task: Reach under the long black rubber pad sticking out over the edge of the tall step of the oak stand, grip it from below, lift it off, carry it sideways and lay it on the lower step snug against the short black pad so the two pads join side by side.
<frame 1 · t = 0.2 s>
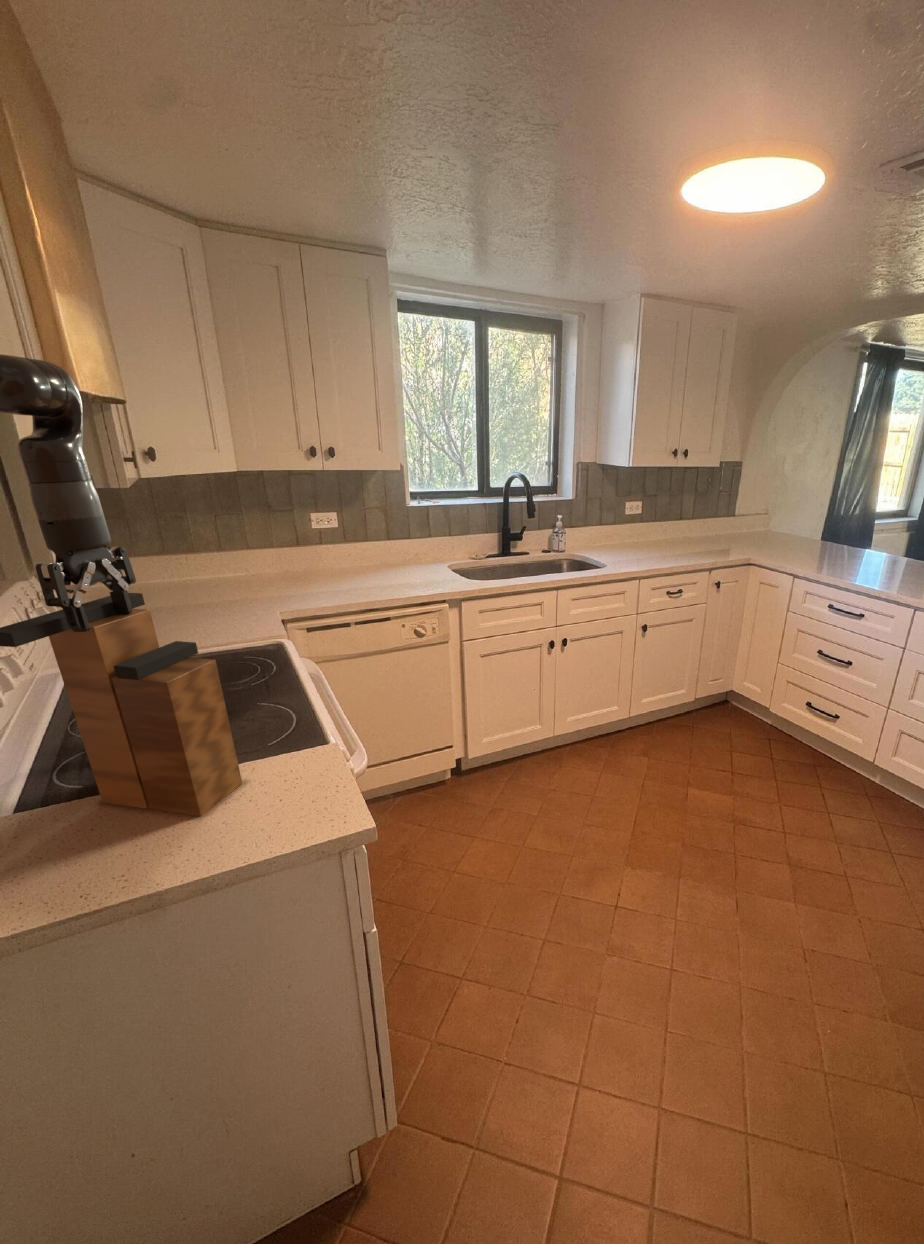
hand: (104, 622, 87), 32 cm above the countertop, tool pointing down, fingers open, 8 cm apart
long pad: (76, 622, 87), point 32 cm above the countertop, touching step stand
short pad: (159, 665, 92), point 24 cm above the countertop, touching step stand
step stand: (173, 792, 100), on the countertop
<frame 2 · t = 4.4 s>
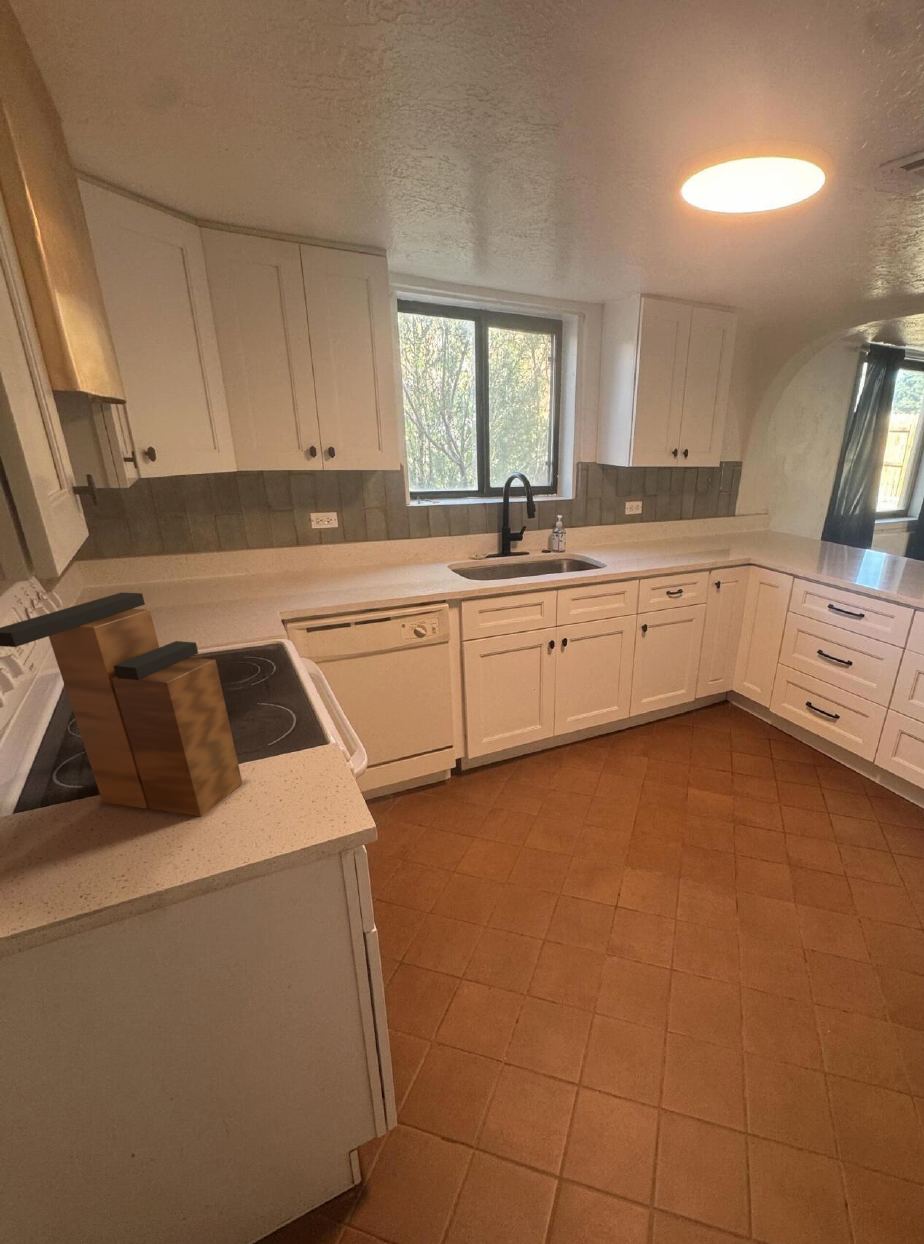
nothing on the countertop moved.
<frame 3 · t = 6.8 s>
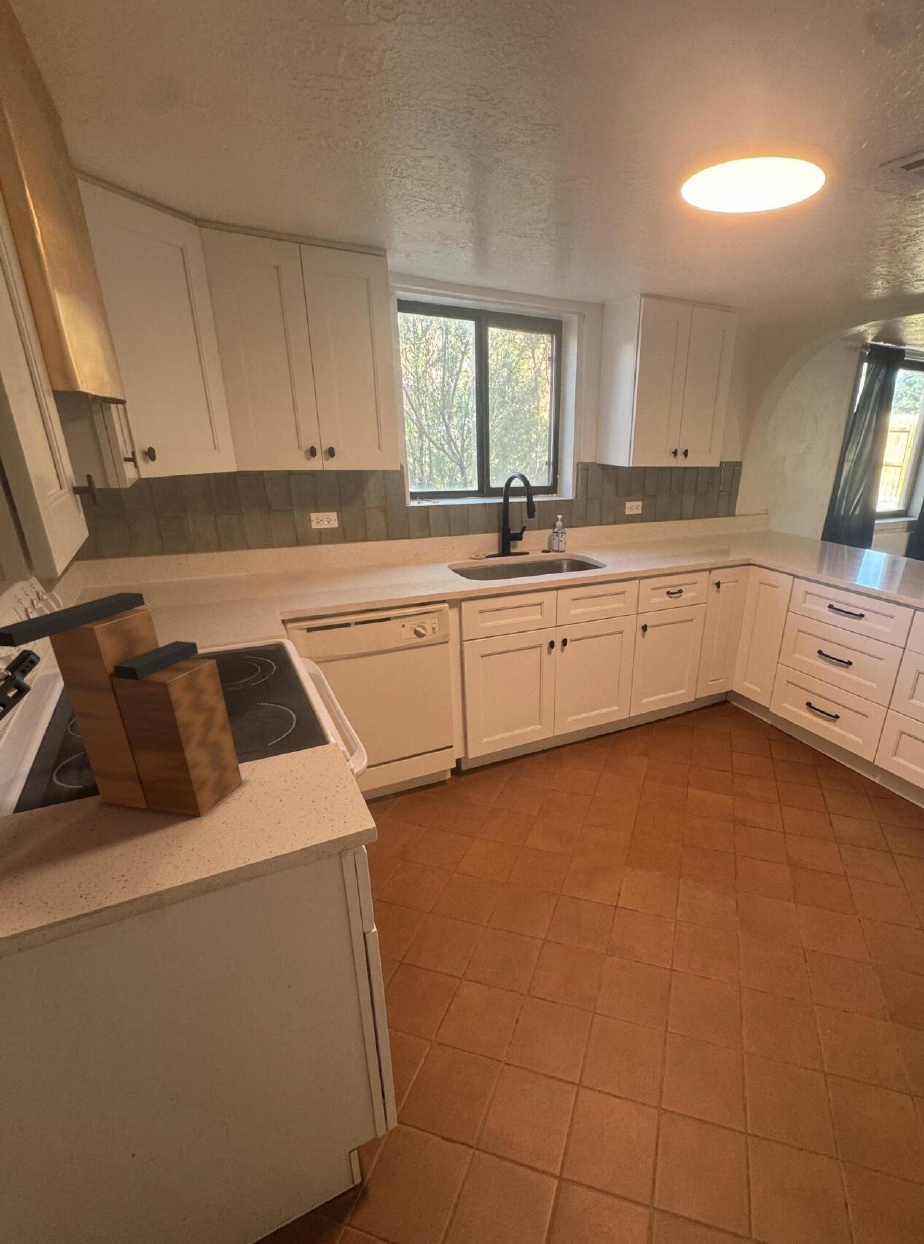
hand: (8, 651, 78), 31 cm above the countertop, tool pointing upward, fingers open, 8 cm apart
nothing on the countertop moved.
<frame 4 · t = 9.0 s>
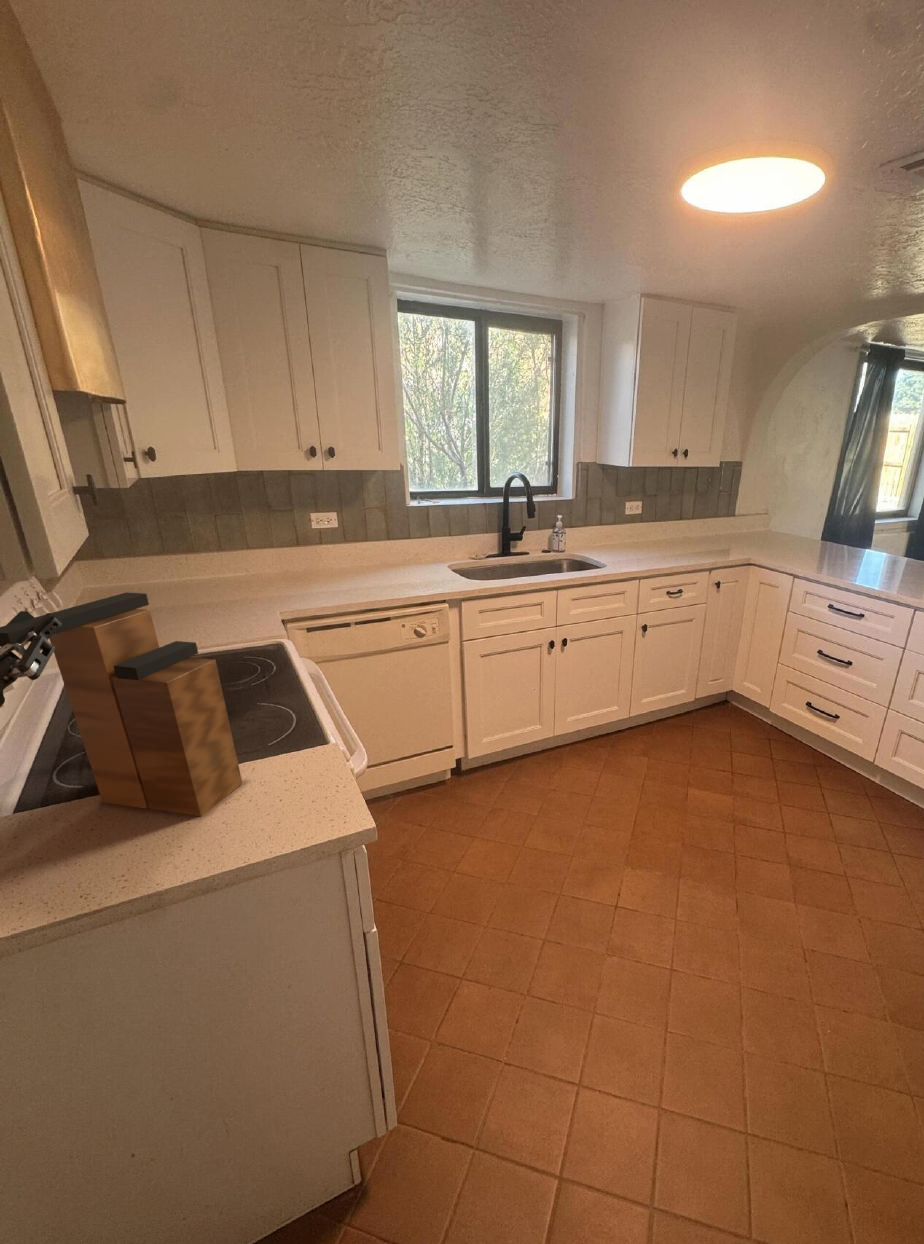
hand: (42, 616, 82), 34 cm above the countertop, tool pointing upward, fingers closed on long pad, 4 cm apart
long pad: (77, 623, 87), point 32 cm above the countertop, touching gripper, step stand
everything else where it was.
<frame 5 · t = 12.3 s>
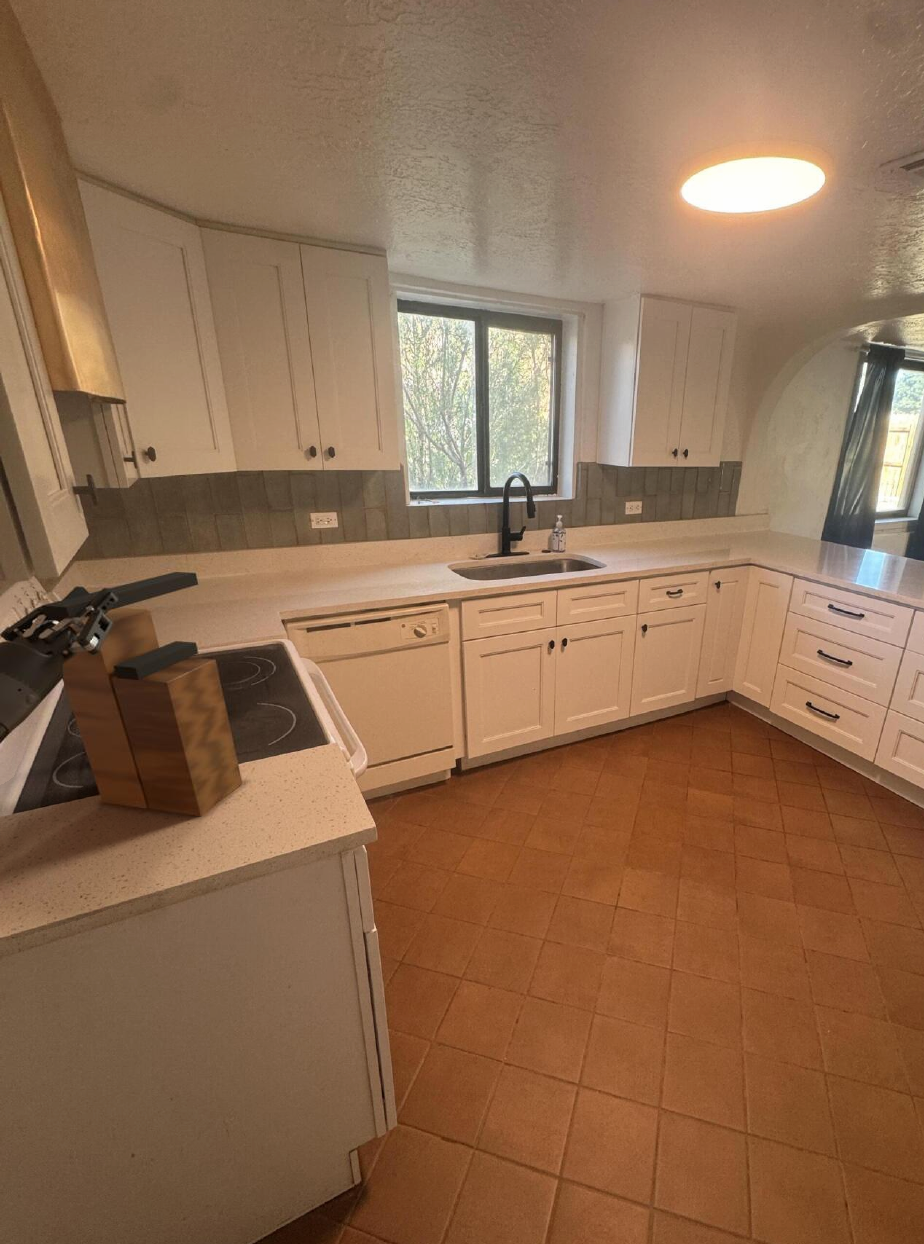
hand: (98, 592, 80), 38 cm above the countertop, tool pointing upward, fingers closed on long pad, 4 cm apart
long pad: (130, 600, 85), point 36 cm above the countertop, touching gripper
everything else where it was.
when the fingers open (26 cm above the countertop, at t = 16.0 s): long pad stays where it is, resting on step stand.
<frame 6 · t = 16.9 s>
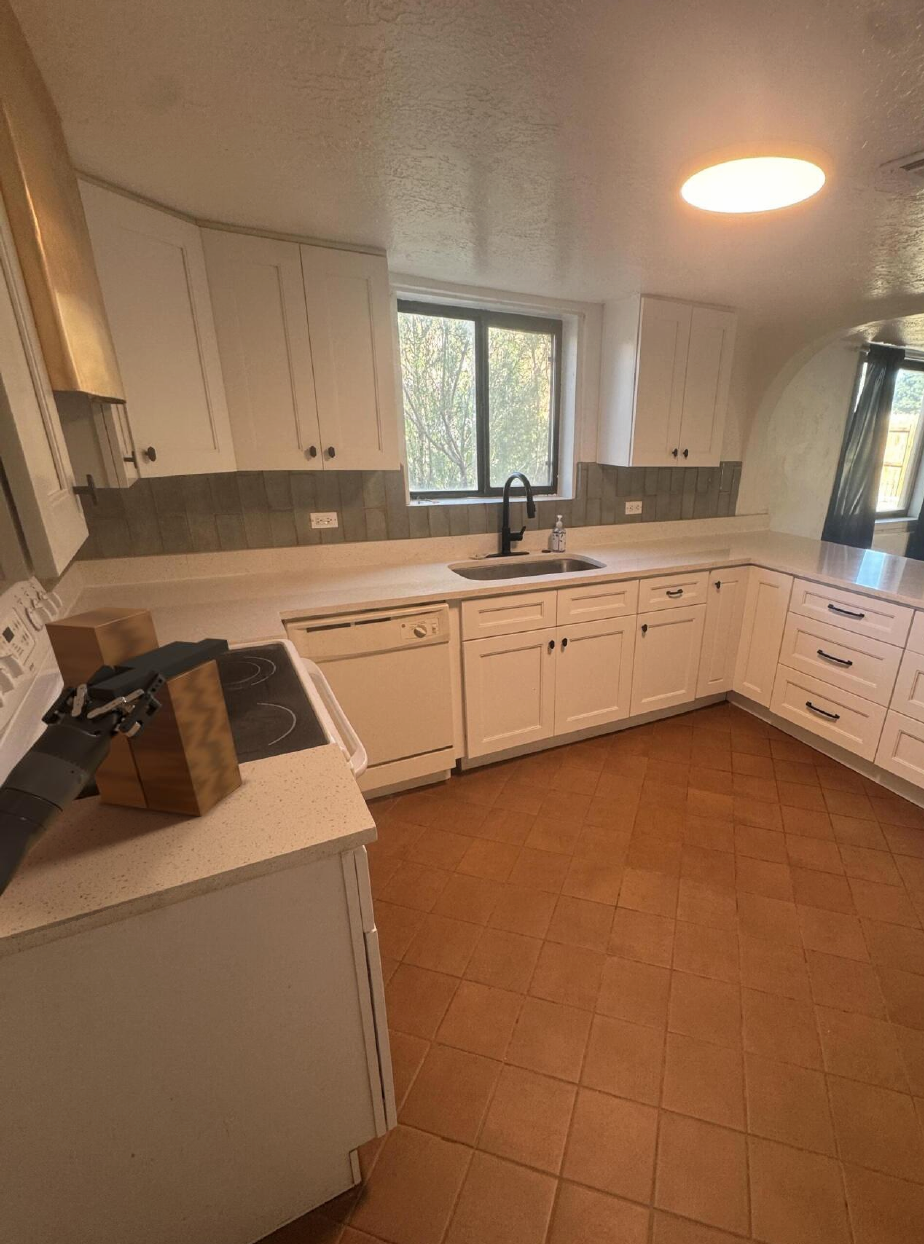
hand: (134, 670, 83), 26 cm above the countertop, tool pointing upward, fingers open, 8 cm apart
long pad: (168, 672, 89), point 24 cm above the countertop, touching step stand
everything else where it was.
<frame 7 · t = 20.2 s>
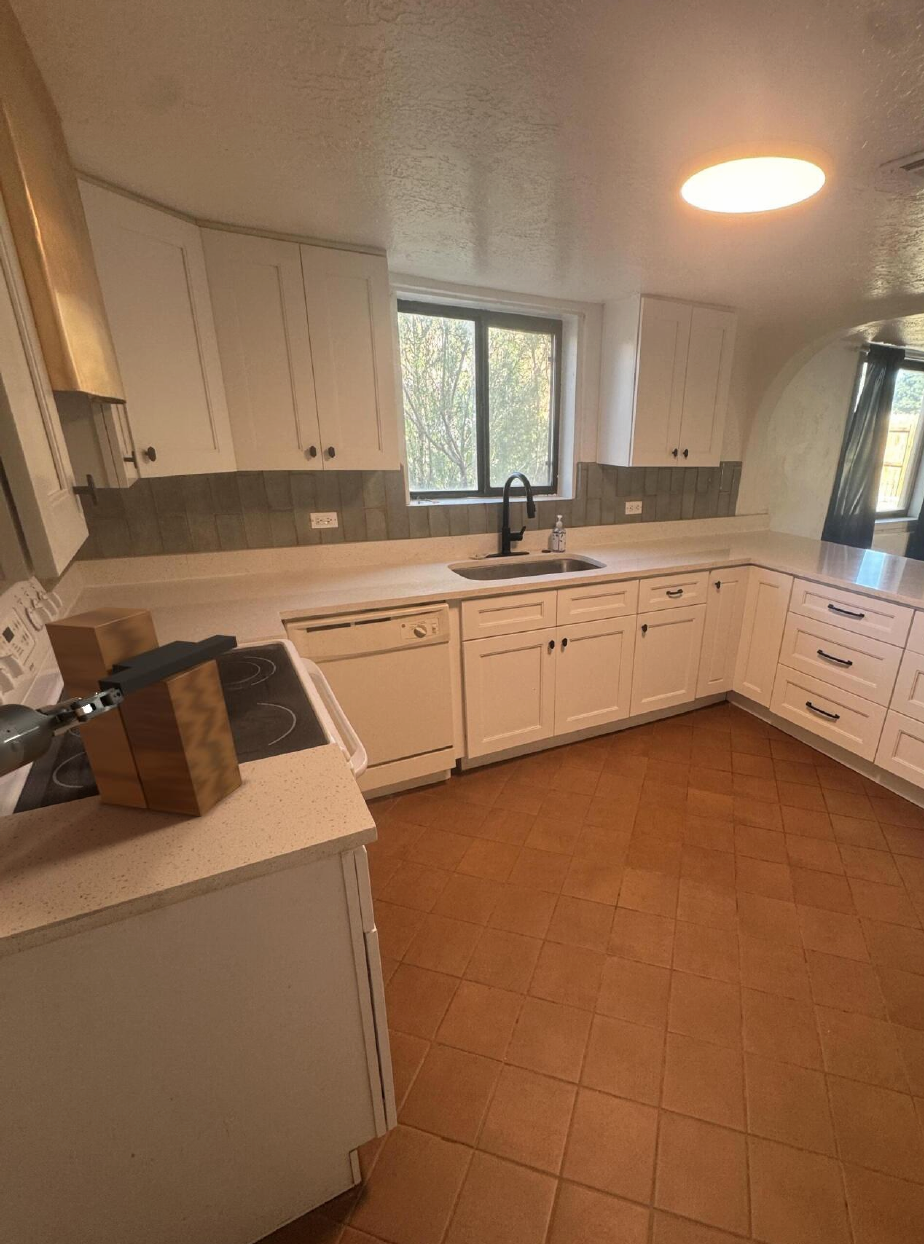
hand: (90, 703, 81), 23 cm above the countertop, tool horizontal, fingers open, 8 cm apart
long pad: (176, 667, 91), point 24 cm above the countertop, touching gripper
everything else where it was.
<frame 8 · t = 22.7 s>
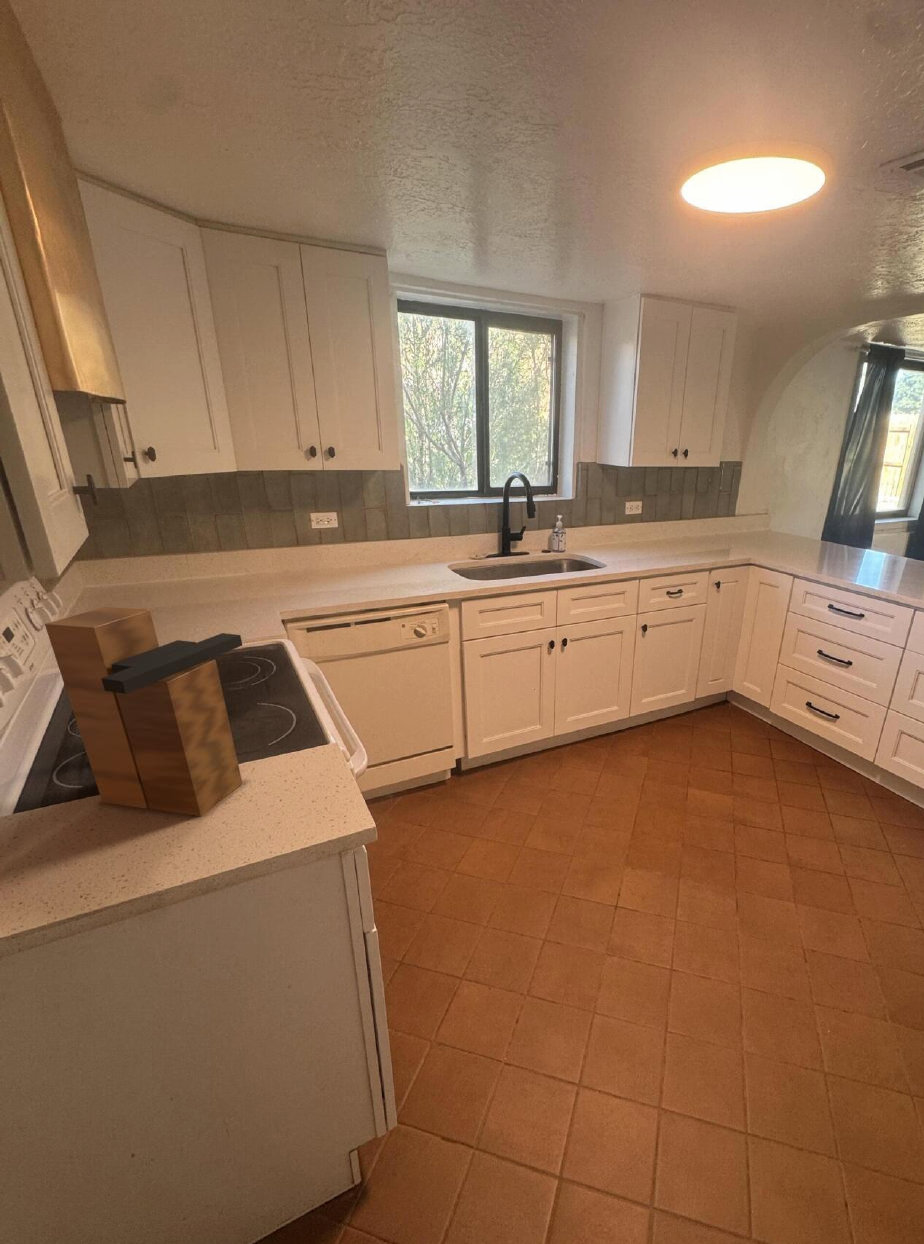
long pad: (180, 665, 92), point 24 cm above the countertop, touching step stand
everything else where it was.
at the end: long pad 4.2 cm from the short pad (horizontally); long pad point 24.0 cm above the countertop; the gripper is holding nothing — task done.
